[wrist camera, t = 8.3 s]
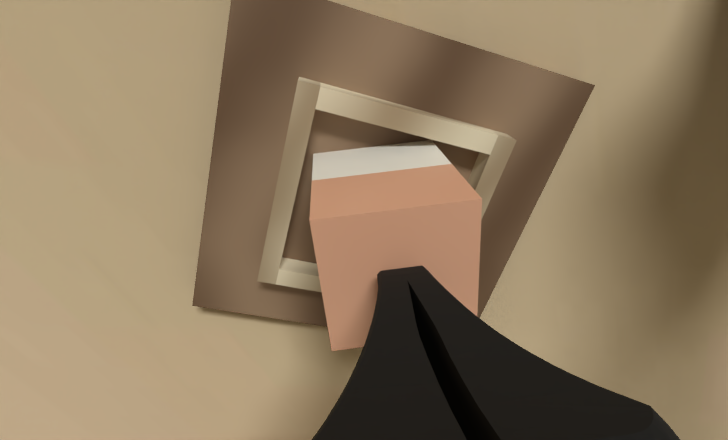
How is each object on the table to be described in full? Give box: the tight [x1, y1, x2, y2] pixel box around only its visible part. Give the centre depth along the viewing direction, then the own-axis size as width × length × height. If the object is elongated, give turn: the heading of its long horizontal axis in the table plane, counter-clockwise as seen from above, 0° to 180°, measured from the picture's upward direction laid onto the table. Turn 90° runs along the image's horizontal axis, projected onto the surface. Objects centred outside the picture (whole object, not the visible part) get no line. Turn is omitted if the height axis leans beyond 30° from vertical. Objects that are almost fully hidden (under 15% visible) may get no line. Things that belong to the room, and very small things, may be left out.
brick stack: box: [309, 140, 482, 351], centre depth 15 cm, size 5×5×6 cm
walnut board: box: [192, 0, 595, 327], centre depth 18 cm, size 14×14×2 cm
